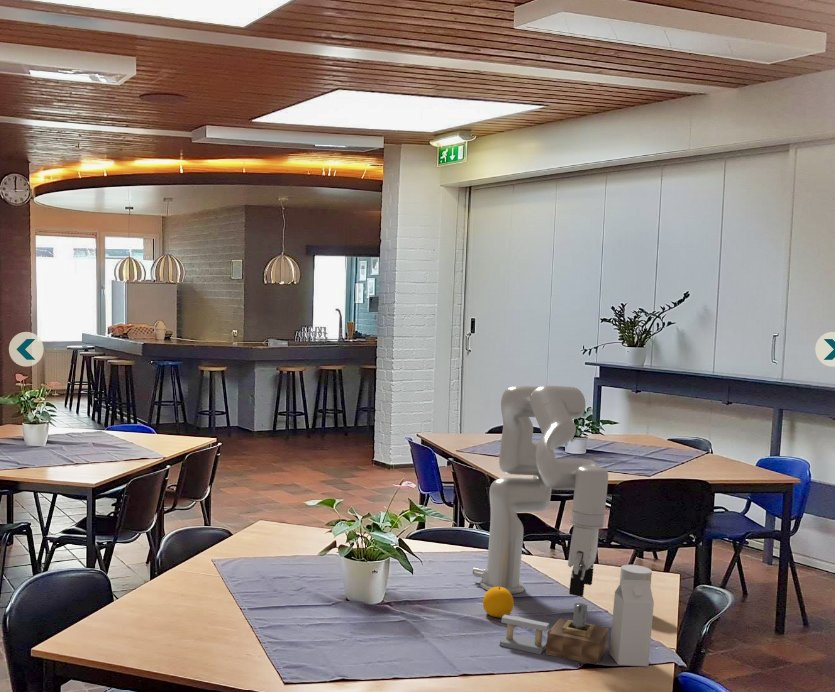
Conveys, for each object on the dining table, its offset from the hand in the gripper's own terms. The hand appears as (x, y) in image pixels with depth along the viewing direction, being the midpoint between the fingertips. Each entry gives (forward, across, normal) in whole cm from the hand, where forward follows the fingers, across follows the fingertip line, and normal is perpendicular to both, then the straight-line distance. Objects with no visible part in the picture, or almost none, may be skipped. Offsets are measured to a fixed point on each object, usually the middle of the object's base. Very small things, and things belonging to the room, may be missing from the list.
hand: (580, 589), depth 224 cm
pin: (+14, +1, +1) cm, 14 cm away
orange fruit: (+16, -13, -23) cm, 31 cm away
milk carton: (+15, 0, +13) cm, 19 cm away
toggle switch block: (+15, +1, +1) cm, 15 cm away
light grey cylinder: (+16, -37, +8) cm, 41 cm away
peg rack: (+15, +5, -11) cm, 19 cm away
